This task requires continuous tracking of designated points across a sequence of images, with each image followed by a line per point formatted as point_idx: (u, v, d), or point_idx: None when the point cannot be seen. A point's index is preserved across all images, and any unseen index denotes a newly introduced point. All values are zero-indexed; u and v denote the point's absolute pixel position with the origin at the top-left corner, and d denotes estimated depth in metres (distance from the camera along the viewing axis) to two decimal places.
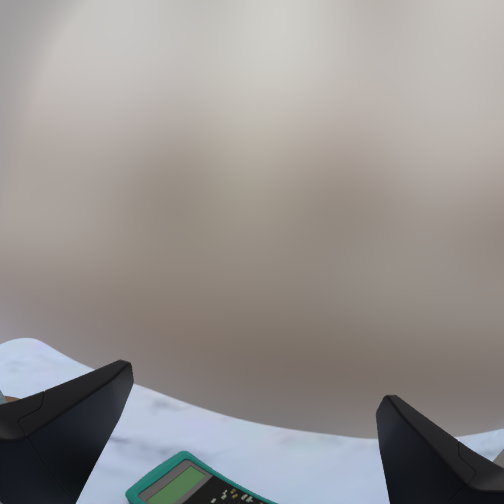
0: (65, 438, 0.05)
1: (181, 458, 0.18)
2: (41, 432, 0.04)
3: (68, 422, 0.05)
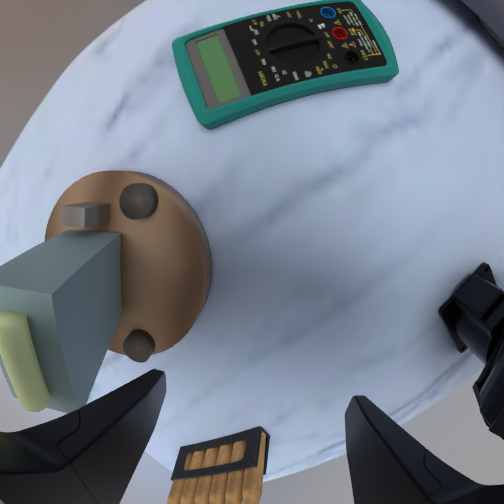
0: (106, 457, 0.05)
1: (182, 46, 0.15)
2: (84, 455, 0.04)
3: (109, 440, 0.05)
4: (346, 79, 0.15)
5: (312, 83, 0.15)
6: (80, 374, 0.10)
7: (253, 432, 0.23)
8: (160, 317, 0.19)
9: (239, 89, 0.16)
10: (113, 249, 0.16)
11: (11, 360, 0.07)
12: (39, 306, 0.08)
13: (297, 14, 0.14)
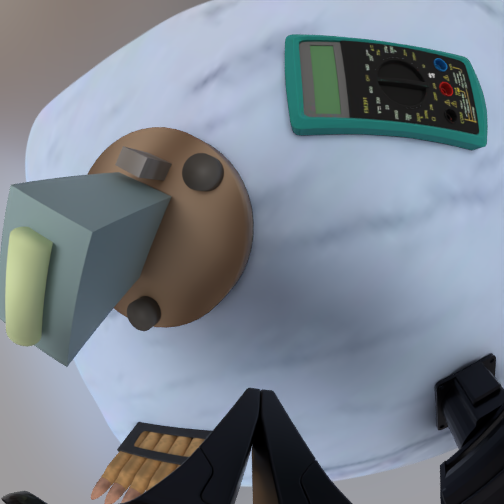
0: (237, 492, 0.05)
1: (296, 44, 0.14)
2: (231, 499, 0.04)
3: (241, 474, 0.05)
4: (440, 135, 0.14)
5: (409, 127, 0.14)
6: (83, 324, 0.09)
7: None
8: (177, 294, 0.18)
9: (340, 107, 0.15)
10: (160, 210, 0.15)
11: (16, 284, 0.06)
12: (72, 239, 0.07)
13: (413, 55, 0.13)
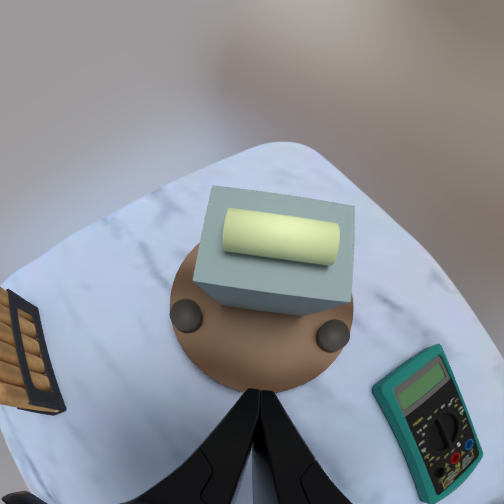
0: (237, 492, 0.05)
1: (437, 354, 0.19)
2: (231, 499, 0.04)
3: (241, 474, 0.05)
4: (422, 475, 0.14)
5: (417, 455, 0.15)
6: (237, 291, 0.11)
7: (60, 401, 0.17)
8: (217, 345, 0.19)
9: (408, 407, 0.17)
10: (298, 313, 0.18)
11: (301, 237, 0.10)
12: (338, 284, 0.10)
13: (465, 425, 0.15)
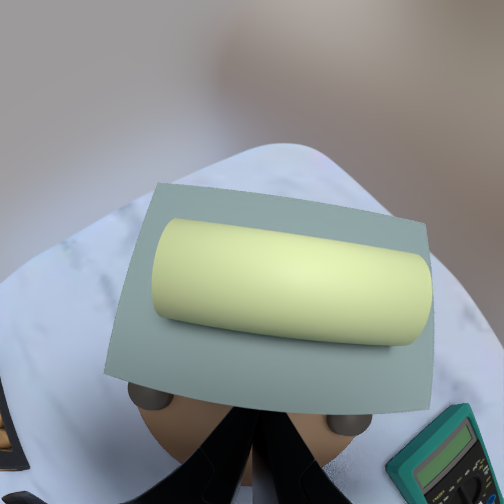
0: (237, 492, 0.05)
1: (465, 417, 0.12)
2: (231, 499, 0.04)
3: (241, 474, 0.05)
4: None
5: None
6: None
7: (22, 459, 0.10)
8: (194, 428, 0.12)
9: (428, 483, 0.10)
10: None
11: (353, 289, 0.04)
12: (410, 378, 0.04)
13: (488, 484, 0.09)
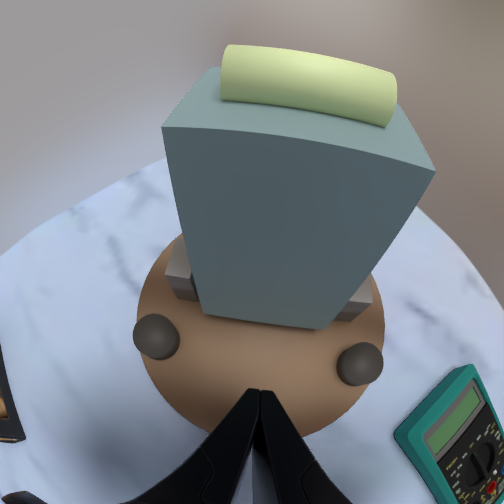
0: (237, 492, 0.05)
1: (471, 378, 0.13)
2: (231, 499, 0.04)
3: (241, 474, 0.05)
4: None
5: (451, 498, 0.09)
6: (237, 173, 0.06)
7: (17, 429, 0.11)
8: (200, 378, 0.13)
9: (439, 450, 0.11)
10: (320, 316, 0.12)
11: (342, 63, 0.05)
12: (409, 148, 0.05)
13: (501, 450, 0.10)
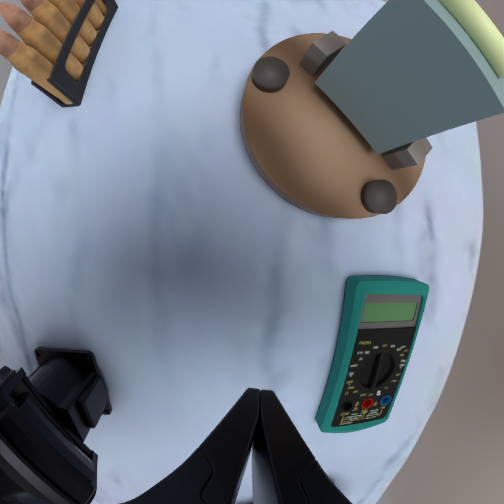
0: (237, 492, 0.05)
1: (421, 293, 0.19)
2: (231, 499, 0.04)
3: (241, 474, 0.05)
4: (333, 397, 0.20)
5: (342, 375, 0.20)
6: (421, 27, 0.06)
7: (79, 94, 0.16)
8: (278, 118, 0.16)
9: (366, 322, 0.20)
10: (385, 140, 0.14)
11: (502, 38, 0.05)
12: (501, 94, 0.06)
13: (394, 380, 0.20)
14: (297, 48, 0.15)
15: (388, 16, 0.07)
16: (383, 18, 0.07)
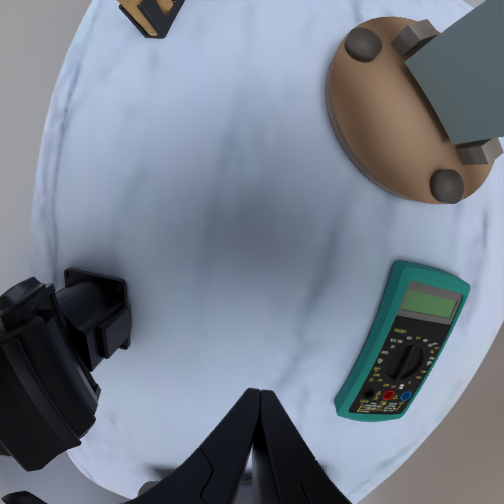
0: (237, 492, 0.05)
1: (462, 292, 0.17)
2: (231, 499, 0.04)
3: (241, 474, 0.05)
4: (357, 381, 0.20)
5: (371, 359, 0.19)
6: None
7: (165, 27, 0.15)
8: (365, 87, 0.14)
9: (405, 309, 0.18)
10: (463, 131, 0.12)
11: None
12: None
13: (419, 376, 0.19)
14: (390, 28, 0.13)
15: (484, 14, 0.05)
16: (479, 15, 0.05)
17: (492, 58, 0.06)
